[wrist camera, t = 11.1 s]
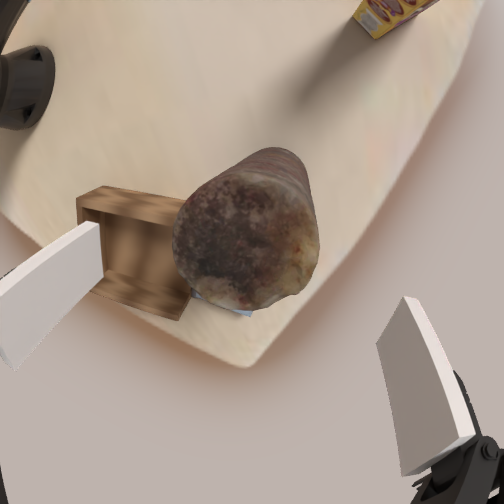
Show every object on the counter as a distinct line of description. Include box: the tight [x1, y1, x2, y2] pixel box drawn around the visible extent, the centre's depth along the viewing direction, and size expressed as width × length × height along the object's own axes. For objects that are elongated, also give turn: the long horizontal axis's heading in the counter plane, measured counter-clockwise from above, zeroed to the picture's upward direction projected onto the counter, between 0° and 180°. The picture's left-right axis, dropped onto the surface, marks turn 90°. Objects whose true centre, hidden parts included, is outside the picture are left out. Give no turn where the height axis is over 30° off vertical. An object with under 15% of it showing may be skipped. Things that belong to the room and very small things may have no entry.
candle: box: [172, 147, 320, 311], centre depth 21 cm, size 8×7×20 cm
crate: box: [76, 186, 192, 321], centre depth 34 cm, size 15×14×6 cm
